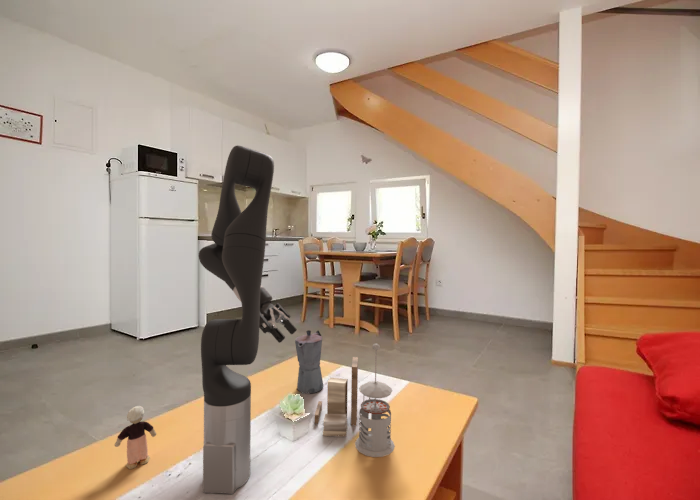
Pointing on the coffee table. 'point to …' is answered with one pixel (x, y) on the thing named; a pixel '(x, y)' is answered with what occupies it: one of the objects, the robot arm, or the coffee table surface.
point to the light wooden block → (337, 396)
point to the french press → (375, 419)
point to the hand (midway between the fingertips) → (288, 336)
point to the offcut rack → (353, 396)
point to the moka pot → (309, 362)
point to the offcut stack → (335, 425)
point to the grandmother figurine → (136, 437)
